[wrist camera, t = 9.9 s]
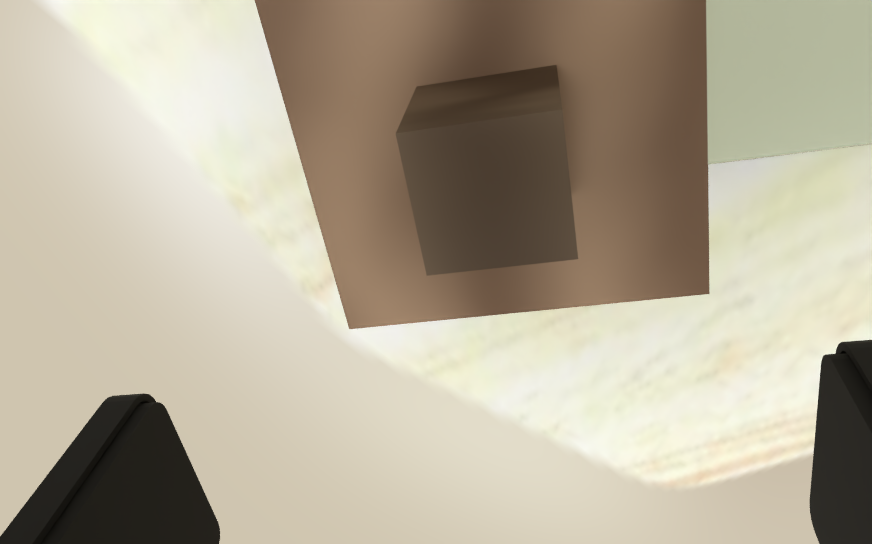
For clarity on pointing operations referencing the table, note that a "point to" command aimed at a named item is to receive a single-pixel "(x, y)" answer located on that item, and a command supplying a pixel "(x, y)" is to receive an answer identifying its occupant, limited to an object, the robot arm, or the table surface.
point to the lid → (499, 150)
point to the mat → (787, 77)
